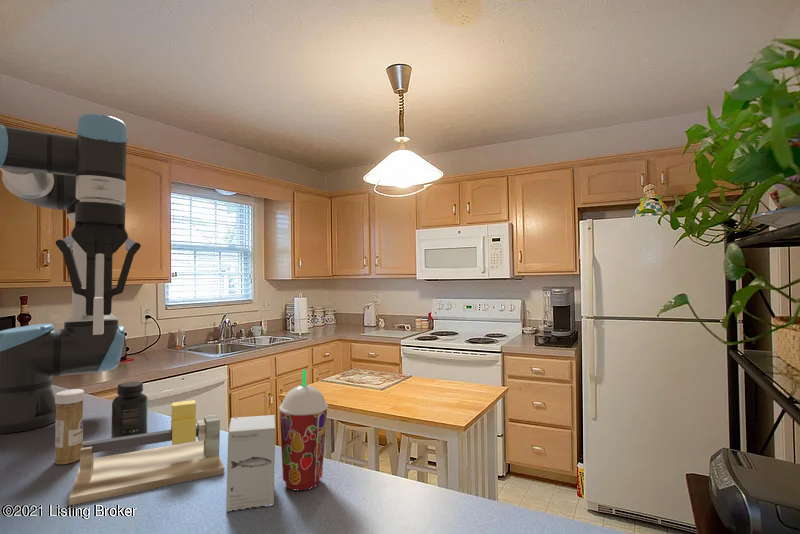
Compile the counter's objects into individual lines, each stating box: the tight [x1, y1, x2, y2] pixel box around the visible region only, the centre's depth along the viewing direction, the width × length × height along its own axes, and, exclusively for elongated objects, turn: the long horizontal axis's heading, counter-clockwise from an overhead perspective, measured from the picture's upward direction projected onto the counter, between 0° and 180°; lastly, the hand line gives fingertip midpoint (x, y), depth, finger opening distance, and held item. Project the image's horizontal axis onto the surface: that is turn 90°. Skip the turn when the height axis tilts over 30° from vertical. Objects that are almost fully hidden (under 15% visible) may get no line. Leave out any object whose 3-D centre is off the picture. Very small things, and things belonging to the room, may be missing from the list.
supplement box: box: [225, 414, 277, 513], centre depth 73 cm, size 7×7×13 cm
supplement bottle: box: [110, 381, 149, 438], centre depth 99 cm, size 7×7×12 cm
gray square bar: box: [83, 425, 198, 454], centre depth 83 cm, size 2×21×2 cm, turn 120°
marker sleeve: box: [170, 399, 197, 446], centre depth 86 cm, size 4×4×7 cm
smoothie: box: [278, 369, 329, 491], centre depth 79 cm, size 8×8×20 cm
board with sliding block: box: [68, 413, 225, 506], centre depth 83 cm, size 16×23×8 cm
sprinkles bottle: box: [54, 388, 85, 465], centre depth 87 cm, size 5×5×13 cm
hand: (98, 333), depth 80 cm, fingers closed
